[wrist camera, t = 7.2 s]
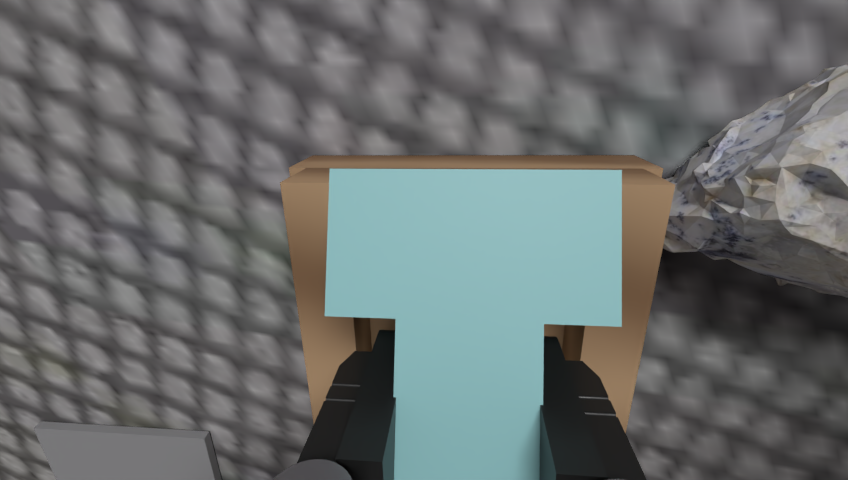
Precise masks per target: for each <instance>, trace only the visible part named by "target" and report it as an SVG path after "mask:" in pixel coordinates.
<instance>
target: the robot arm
mask: <svg viewBox="0 0 848 480" xmlns="http://www.w3.org/2000/svg"><path fill="white" fill-rule="evenodd" d="M394 357H395V330H379V332H378V334H377V337H376V340H375V343H374V346H373V349H372V352H367V351H354V352H353V353H352V354H351V355H350V356H349V357H348V358H347V359H346V360H345V361H344V362H343V363H341V364H340V365H339V368H338V370H337V372H336V375H335V377H334V379H333V382H332V386H330V388H329V391H328V393H327V395H326V400H325V401H324V402H323V405H322V407H321V409H320V411H319V414H318V416H317V418H316V421H315V423H314V425H313V428H312V430H311V432H310V435H309V437H308V439H307V441H306V444H305V446H304V448H303V451H302V453H301V455H300V458H299V460H298V462H297V464H294V465H292V466H290V467H288V468H287V469H285V470H284V471H282V472H281V473H279V474H278V475H277V476H276V477H275V478H274V479H273V480H394V459H395V421H396V397H393V395H394ZM539 480H646V478H645V476H644V473H643V471H642V469H641V467H640V465H639V462H638V460H637V458H636V456H635V454H634V451H633V449H632V447H631V445H630V443H629V440H628V438H627V436H626V434H625V432H624V429H623V427H622V425H621V423H620V421H619V418H618V417H616V412H615V410H614V408H613V405H612V403H611V401H610V400H609V399H608V394H607V392H606V390H605V388H604V386H603V383H602V381H601V379H600V377H599V376H598V375H597V374H596V373H595V372H594V371H593V370H591V369H590V368H589V367H588V366H587V365H586V364H585V363H584V362H583V361H572V360H565V357H564V354H563V352H562V349H561V346H560V343H559V341H558V338H557V337H555V336H544V373H543V405H540V479H539Z"/></svg>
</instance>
